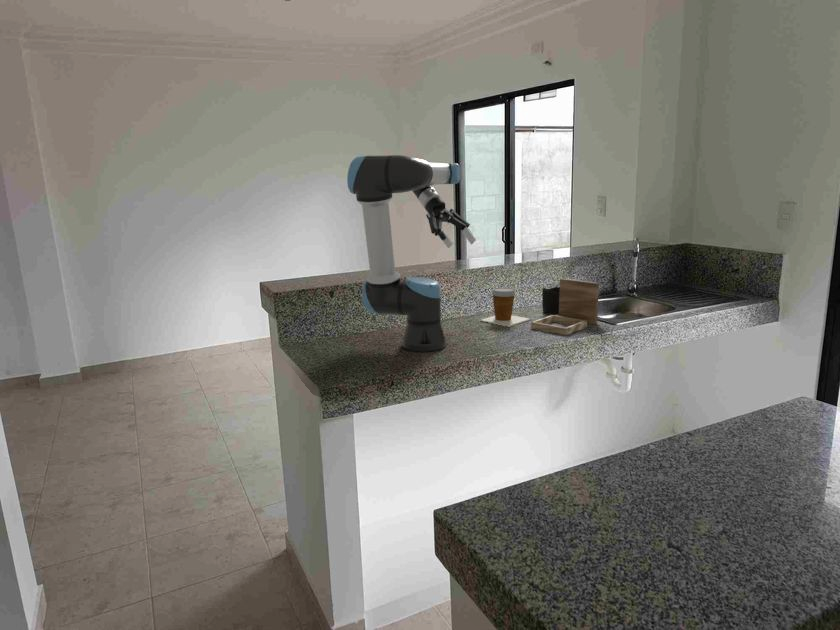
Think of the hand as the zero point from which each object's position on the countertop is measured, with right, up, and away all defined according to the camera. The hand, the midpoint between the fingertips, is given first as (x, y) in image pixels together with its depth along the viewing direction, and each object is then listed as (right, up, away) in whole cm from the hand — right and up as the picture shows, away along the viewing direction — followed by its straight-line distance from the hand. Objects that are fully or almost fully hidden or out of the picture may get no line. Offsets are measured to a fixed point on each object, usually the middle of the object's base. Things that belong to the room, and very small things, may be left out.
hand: (462, 243), depth 229 cm
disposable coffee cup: (+17, -29, +13) cm, 36 cm away
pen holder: (+40, -26, +25) cm, 54 cm away
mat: (+18, -29, +13) cm, 37 cm away
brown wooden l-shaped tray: (+39, -31, +3) cm, 50 cm away
